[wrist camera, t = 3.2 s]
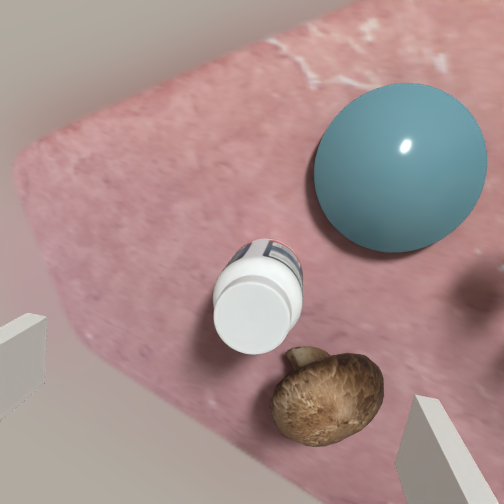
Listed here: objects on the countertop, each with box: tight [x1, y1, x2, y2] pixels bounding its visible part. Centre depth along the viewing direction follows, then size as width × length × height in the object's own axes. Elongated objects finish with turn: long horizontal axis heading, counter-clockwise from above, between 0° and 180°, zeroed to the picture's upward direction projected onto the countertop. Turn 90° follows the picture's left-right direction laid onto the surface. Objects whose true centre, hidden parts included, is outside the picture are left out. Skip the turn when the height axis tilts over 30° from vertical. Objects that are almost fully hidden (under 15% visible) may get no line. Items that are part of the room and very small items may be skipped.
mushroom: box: [270, 347, 384, 447], centre depth 27 cm, size 8×8×6 cm
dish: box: [314, 83, 487, 252], centre depth 25 cm, size 10×10×1 cm
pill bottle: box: [213, 239, 303, 355], centre depth 24 cm, size 5×5×9 cm
